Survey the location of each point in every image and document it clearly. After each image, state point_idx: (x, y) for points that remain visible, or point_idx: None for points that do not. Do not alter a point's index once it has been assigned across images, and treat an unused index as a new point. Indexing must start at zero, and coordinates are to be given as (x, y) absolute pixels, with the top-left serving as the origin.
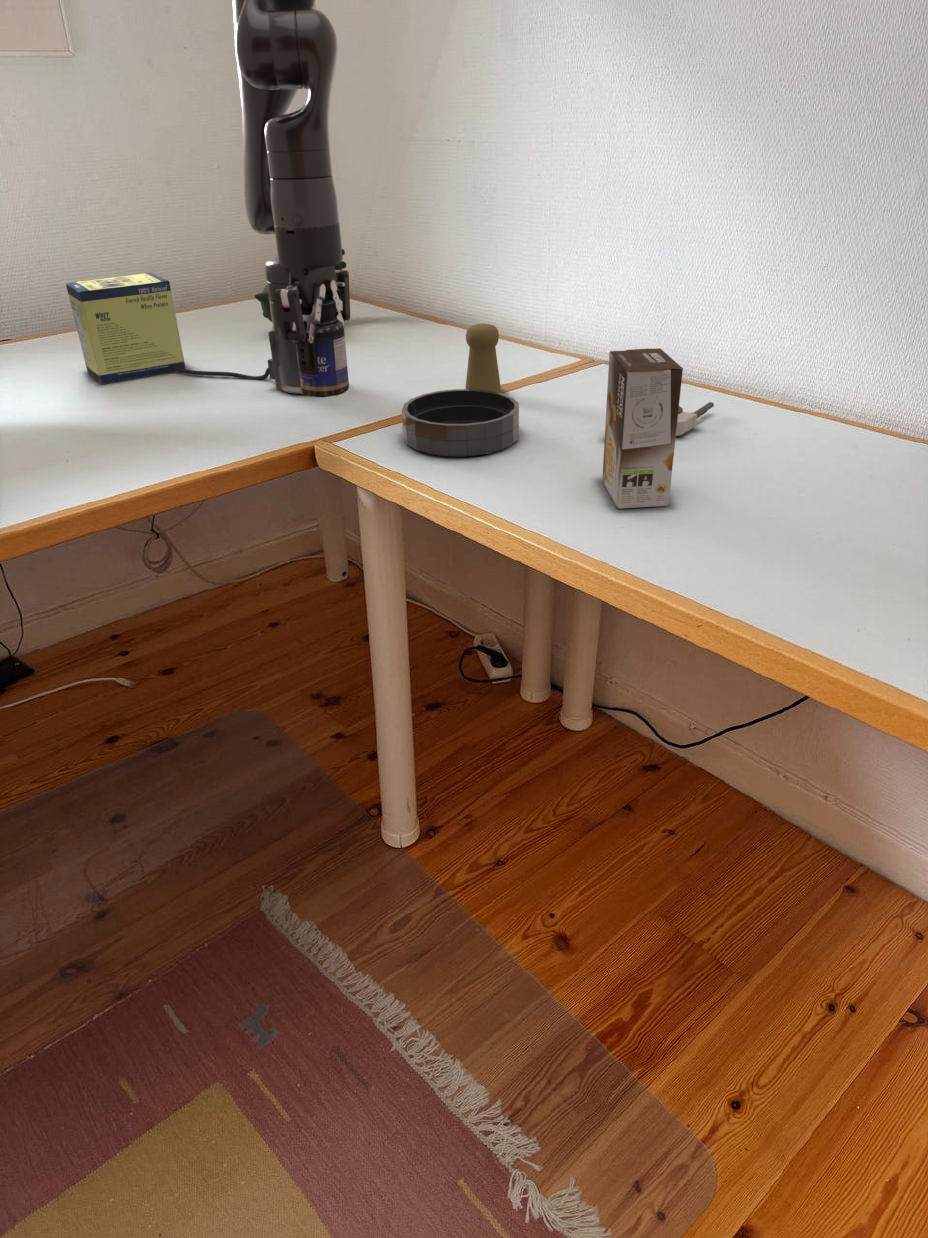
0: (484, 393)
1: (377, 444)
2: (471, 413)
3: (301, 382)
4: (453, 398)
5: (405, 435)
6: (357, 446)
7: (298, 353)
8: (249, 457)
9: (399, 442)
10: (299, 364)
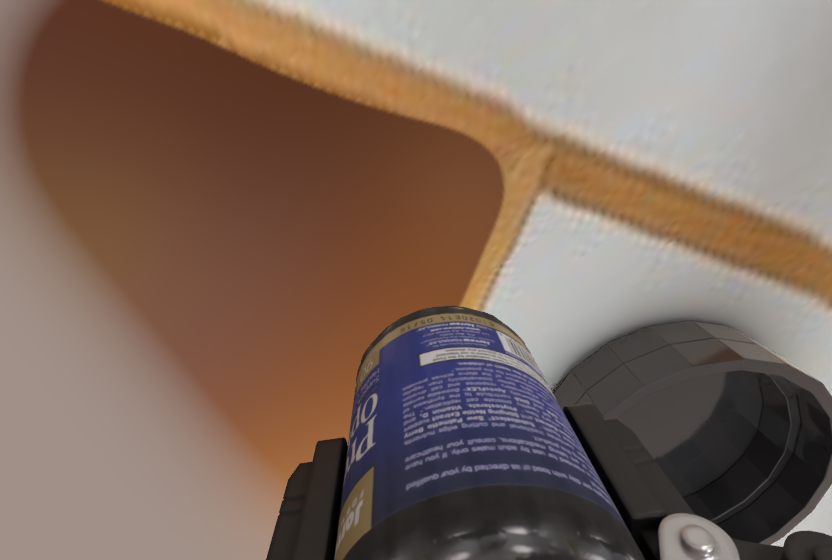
0: (820, 471)
1: (568, 298)
2: (774, 413)
3: (366, 366)
4: (808, 400)
5: (591, 369)
6: (540, 264)
7: (274, 538)
8: (353, 37)
9: (595, 334)
10: (287, 488)
